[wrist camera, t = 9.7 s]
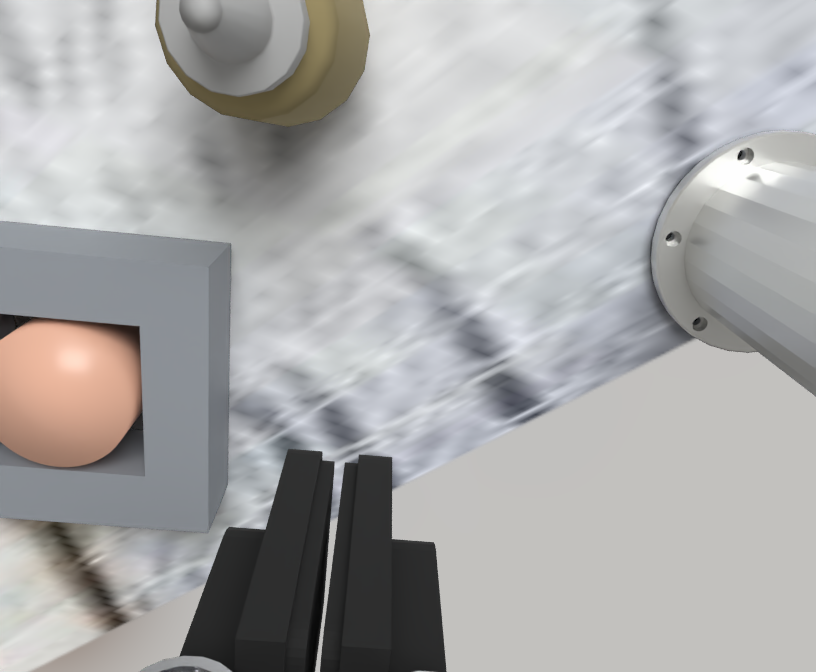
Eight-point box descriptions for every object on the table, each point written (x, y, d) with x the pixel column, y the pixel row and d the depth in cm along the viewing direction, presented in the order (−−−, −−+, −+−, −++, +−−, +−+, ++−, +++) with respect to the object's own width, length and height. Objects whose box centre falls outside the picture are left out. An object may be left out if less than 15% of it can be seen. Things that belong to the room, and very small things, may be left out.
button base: (230, 243, 39) (208, 267, 34) (227, 484, 45) (208, 533, 40) (-62, 215, 38) (-125, 235, 33) (-27, 464, 44) (-77, 511, 39)
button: (158, 306, 40) (126, 337, 35) (161, 428, 43) (132, 472, 38) (15, 293, 39) (-36, 323, 35) (28, 417, 42) (-17, 460, 37)
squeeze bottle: (222, 122, 37) (76, 166, 20) (204, -51, 34) (15, -171, 17) (374, 120, 37) (357, 162, 20) (369, -52, 34) (346, -172, 17)
